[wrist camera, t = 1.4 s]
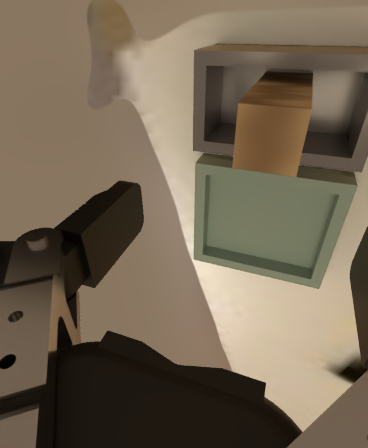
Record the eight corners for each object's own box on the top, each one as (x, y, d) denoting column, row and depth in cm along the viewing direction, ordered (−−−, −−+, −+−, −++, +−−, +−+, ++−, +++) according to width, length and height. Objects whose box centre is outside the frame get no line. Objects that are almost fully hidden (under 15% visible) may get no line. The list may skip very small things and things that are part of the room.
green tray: (354, 172, 30) (357, 185, 28) (318, 272, 38) (319, 289, 36) (203, 153, 35) (195, 163, 32) (200, 246, 43) (193, 259, 40)
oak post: (313, 73, 26) (312, 109, 16) (302, 119, 28) (296, 176, 18) (266, 71, 27) (238, 103, 17) (260, 116, 29) (232, 167, 19)
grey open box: (384, 47, 24) (404, 56, 19) (352, 142, 29) (361, 172, 23) (217, 43, 28) (194, 50, 23) (213, 128, 33) (193, 150, 27)
